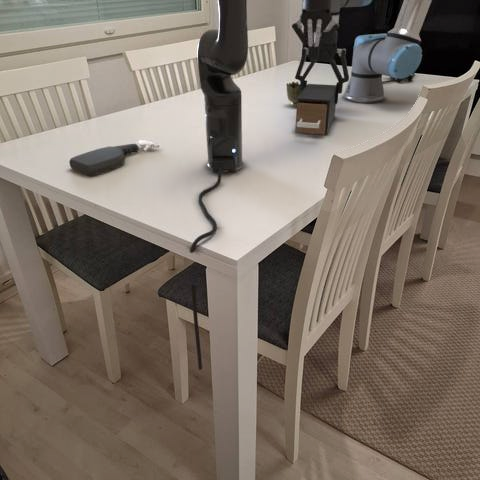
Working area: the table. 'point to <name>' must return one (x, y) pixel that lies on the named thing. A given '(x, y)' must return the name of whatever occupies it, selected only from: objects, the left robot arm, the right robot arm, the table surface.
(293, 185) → the table surface
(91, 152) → the spray bottle
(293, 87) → the cup
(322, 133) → the drawer
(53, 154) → the table surface
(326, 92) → the cabinet
